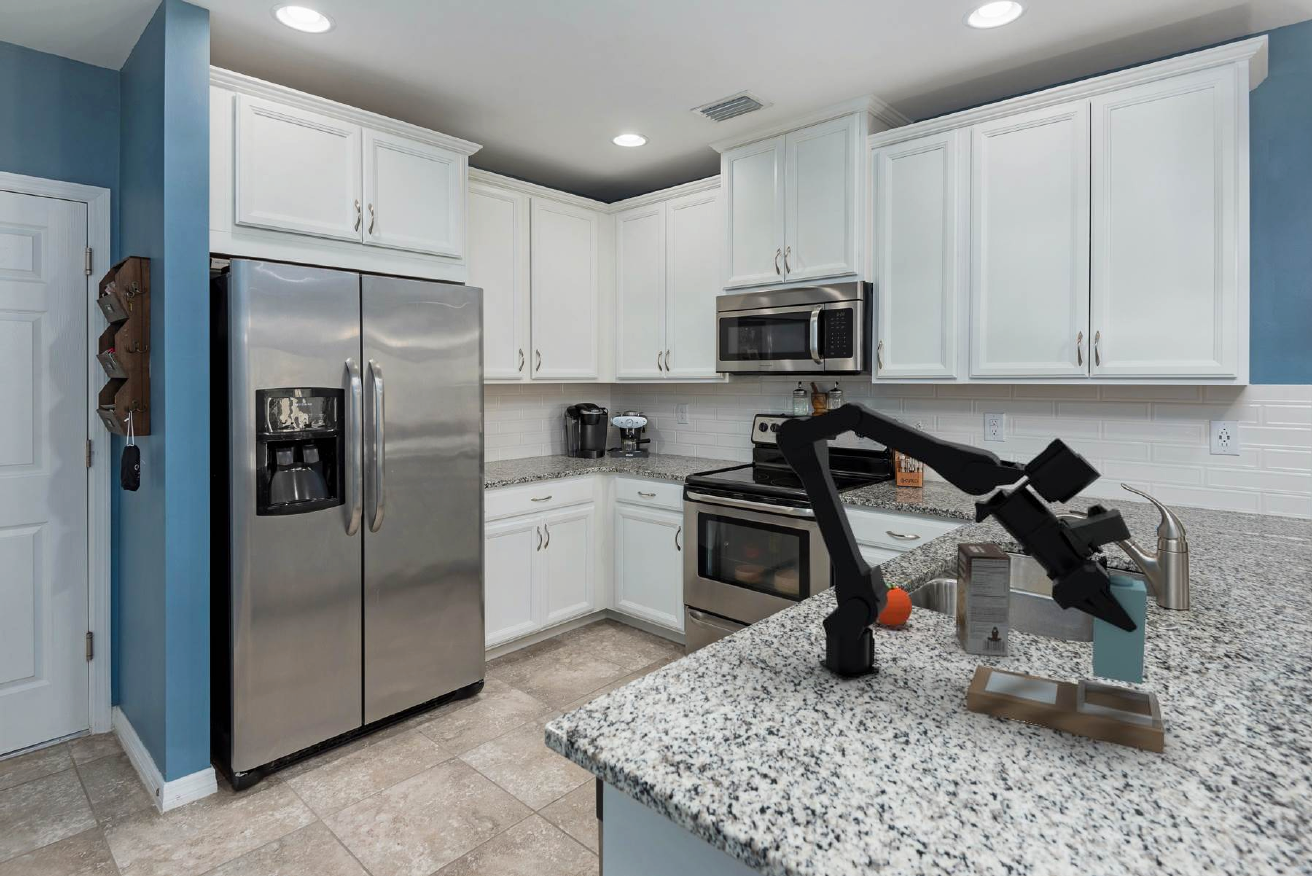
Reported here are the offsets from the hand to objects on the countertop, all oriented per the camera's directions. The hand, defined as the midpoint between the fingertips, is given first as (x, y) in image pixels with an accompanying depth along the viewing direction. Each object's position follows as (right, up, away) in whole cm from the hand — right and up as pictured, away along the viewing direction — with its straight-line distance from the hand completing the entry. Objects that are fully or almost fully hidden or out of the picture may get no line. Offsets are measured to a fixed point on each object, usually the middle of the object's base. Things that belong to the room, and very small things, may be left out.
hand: (1131, 623), depth 87 cm
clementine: (-17, -11, +38) cm, 44 cm away
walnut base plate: (-7, -13, +4) cm, 15 cm away
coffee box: (-6, -11, +28) cm, 31 cm away
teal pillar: (-1, -7, +1) cm, 7 cm away
